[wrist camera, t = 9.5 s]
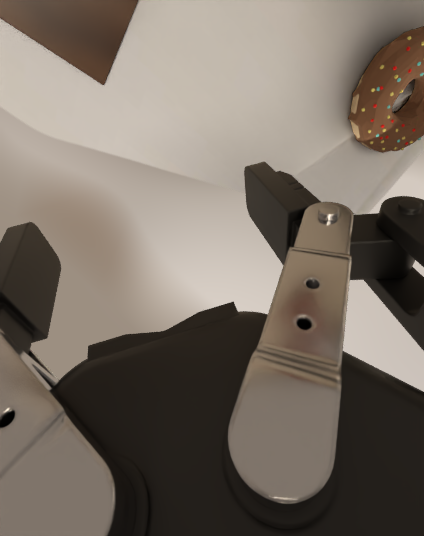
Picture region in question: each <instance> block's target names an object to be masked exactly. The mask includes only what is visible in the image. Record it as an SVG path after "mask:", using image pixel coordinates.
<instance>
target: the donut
mask: <svg viewBox="0 0 424 536" xmlns="http://www.w3.org/2000/svg"><path fill="white" fill-rule="evenodd" d="M413 79H415V87H414V89H413V92H412V94H411V96H410V98H409V100H408V101H407V103H406V104H405V105H404V106H403V107H402V108H401V109H400V110H399V111H398V112H396V113H393V112H392V106H393V104H394V102H395V100H396V98H397V97H398V95H399V94H400V93H402V92H403V90H404V89H405V88H406V86H407V85H408V84H409V82H411V81H412V80H413ZM352 95H353V101H352V106H351V113H350V115H349V117H348V119H349V120H351V125H352V129H353V132H354V134H355V137H356V140H357V141H358V142H361V144H362V145H364V146H366V147H368V148H369V149H373V150H375V151H378V152H382V153H383V152H387V151H391V150H392V151H398V150H400V149H401V150H403V149H404V148H405V147H406V146H408V145H410V144H412V143H414V142H415V141H416V140H420V139H421V137H422V136H423V135H424V26H423V27H420V28H417V29H412V30H410V31H407V32H405V33H403V34H402V35H401V36H399V37H398V38H396V39H395V40H394V41H392V42H391V43H390V44H388V45H386V46H385V47H383V48H382V49H381V50H380V51H379V52H378V53H377V54H376V55H375V57H374V58H373V60H372V61H371V63H370V64H369V66H368V67H367V69H366V71H365V73H364V74H363V76H362V77H361V79H360V82H359V84H358V86H357V88H356V90H355V91H354V92H353V94H352Z"/></svg>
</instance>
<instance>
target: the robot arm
mask: <svg viewBox="0 0 424 536" xmlns="http://www.w3.org/2000/svg"><path fill="white" fill-rule="evenodd" d="M244 175H245V190H246V203H247V209H248V212H249V215H250V217H251V219H252V220H253V221H254V223H255V225H256V226H257V227H258V229H259V230H260V232H261V233H262V235H263V236H264V238H265V239H266V240H267V242H268V243H269V245H270V246H271V248H272V249H273V251H274V252H275V254H276V255H277V257H278V258H279V259H280V261H281V262H282V264H283V265H284V266H283V269H282V273H281V275H280V279H279V282H278V285H277V288H276V291H275V294H274V297H273V301H272V303H271V307H270V310H269V313H268V315H267V314H263V313H258V312H246V311H245V312H244V311H243V312H238V311H237V309H236V307H235V304H234V302H231V303H227V304H224V305H221V306H218V307H214V308H211V309H208V310H204V311H201V312H198V313H197V314H195V315H193V316H191V317H189V318H187V319H186V320H184V321H182V322H180V323H179V324H177V325H175V326H173V327H171V328H169V329H167V330H165V331H161V332H151V333H138V334H126V335H122V336H119V337H116V338H113V339H109V340H106V341H103V342H99V343H96V344H93V345H90V346H88V359H86V360H84V361H83V362H81V363H80V364H78V365H77V366H75V367H74V368H73V369H71V370H70V371H69V372H68V373H67V374H65V375H64V376H63V377H62V378H61V379H60V380H59V379H58V378H57V377H56V376H55V375H54V374H53V373H52V372H51V370H49V368H48V367H47V366H46V365H45V364H44V363H43V362H42V361H41V360H40V358H39V357H38V356H37V355H36V354H35V353H34V352H33V351H32V350H30V347H31V343H33V342H36V341H40V340H43V339H46V338H47V337H48V332H49V327H50V322H51V317H52V312H53V307H54V302H55V297H56V292H57V287H58V282H59V276H60V272H61V264H60V261H59V258H58V256H57V254H56V253H55V252H54V250H53V249H52V247H51V246H50V244H49V243H48V241H47V240H46V239H45V237H44V236H43V234H42V233H41V231H40V230H39V228H38V227H37V226H36V225H35V224H34V223H32V222H29V223H25V224H21V225H17V226H13V227H10V228H8V229H7V230H6V233H5V234H4V236H3V239H2V241H1V243H0V536H424V392H423V391H421V390H419V389H417V388H415V387H413V386H411V385H409V384H407V383H405V382H403V381H401V380H399V379H397V378H395V377H393V376H391V375H389V374H387V373H385V372H383V371H381V370H379V369H377V368H375V367H374V366H372V365H369V364H367V363H366V362H364V361H362V360H360V359H358V358H356V357H354V356H352V355H350V354H348V353H346V352H344V351H343V341H344V331H345V320H346V311H347V301H348V291H349V281H350V280H364V281H365V282H366V283H367V284H368V286H369V287H370V288H371V289H372V290H373V291H374V293H375V294H376V295H377V296H378V297H379V298H380V300H381V301H382V302H383V303H384V304H385V305H386V307H387V308H388V309H389V310H390V311H391V313H392V314H393V315H394V316H395V317H396V319H398V321H399V322H400V323H401V324H402V326H403V327H404V328H405V329H406V330H407V332H408V333H409V334H410V335H411V336H412V337H413V339H414V340H415V341H416V342H417V343H418V345H419V346H420V347H421V348H422V349H423V350H424V277H423V276H422V275H421V274H420V273H419V272H417V271H416V270H415V269H414V268H413V267H412V266H413V264H414V262H415V260H416V261H417V262H419V263H420V264H421V265H422V266H423V267H424V200H422V199H419V198H415V197H407V196H399V197H393V198H389V199H387V200H385V201H384V202H383V203H382V205H381V208H380V211H379V213H378V214H362V215H353V212H352V211H351V210H350V209H349V208H348V207H346V206H344V205H342V204H339V203H334V202H321V201H319V200H318V199H317V198H316V197H315V196H314V195H313V194H312V193H310V192H309V191H308V190H307V189H306V188H304V186H303V185H302V184H300V183H298V181H297V180H296V179H295V178H294V177H293V176H291V175H289V174H287V173H284V172H281V171H278V172H275V171H274V170H273V169H272V168H271V167H270V166H269V165H268V164H267V163H266V162H261V163H258V164H254V165H250V166H246V167H245V171H244Z"/></svg>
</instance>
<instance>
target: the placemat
mask: <svg viewBox="0 0 424 536" xmlns="http://www.w3.org/2000/svg"><path fill="white" fill-rule="evenodd" d="M137 2H138V0H0V18H1V19H3V20H4V21H6V22H7V23H9V24H10V25H12V26H13V27H15V28H16V29H18V30H20V31H21V32H23V33H24V34H26V35H27V36H29V37H30V38H32V39H33V40H35V41H36V42H38V43H40V44H41V45H43V46H44V47H46V48H47V49H49V50H50V51H52V52H53V53H55V54H56V55H58V56H59V57H61V58H63V59H64V60H66V61H67V62H69V63H70V64H72V65H73V66H75V67H76V68H78V69H79V70H81V71H83V72H84V73H86V74H87V75H89V76H90V77H92V78H93V79H95V80H96V81H98V82H99V83H101V84H102V85H104V83H105V80H106V78H107V75H108V73H109V71H110V68H111V66H112V63H113V61H114V58H115V56H116V53H117V51H118V48H119V46H120V43H121V41H122V39H123V36H124V34H125V31H126V29H127V26H128V24H129V21H130V19H131V16H132V14H133V11H134V9H135V6H136V4H137Z"/></svg>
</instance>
